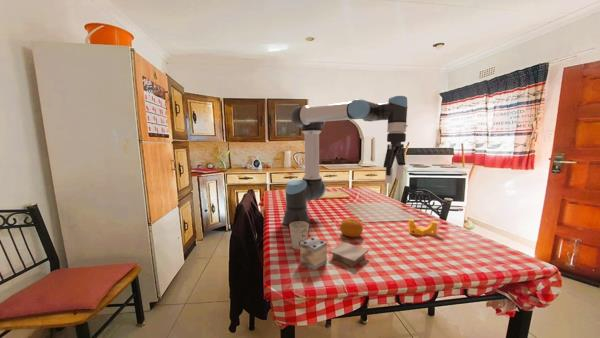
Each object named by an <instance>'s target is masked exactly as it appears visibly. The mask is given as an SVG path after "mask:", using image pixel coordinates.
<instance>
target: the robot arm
mask: <svg viewBox="0 0 600 338" xmlns="http://www.w3.org/2000/svg"><path fill="white" fill-rule="evenodd" d="M407 118H408V98H407V96H405V95H393V96H390V97H389V98H388V101H387V102H383V103H375V102H371V101H369V100H368V101H367V100H365V99H361V98H359V99H358V98H356V99H353V100H352V101H348V102H340V103H332V104H325V105H317V106H309V105H300V106H299V105H298V106H295V107H294V108H293V109H292V110H291V113H290V121H291V123H292V124H293V125H294V126H295V127H297V128H300V129H301V133H302V134H303V135H304V138H303V139H304V175H303V176H302V179H295V180H291V181H288V182H287V183H286V185H285V211H284V216H283V218H282V223H283V225H285V226H288V227H290V226H289V225H290V223H292V222H296V221H303V222H307V223H308V224H310V223H311V219H310V216H309V212H308V209H307V207H308V206H307V205H308V204H307V203H308V202H311V201H314V200H318V199H320V198H322V197H324V195H325V192H326V190H327V188H326V184H325V183H324V181H323V176H321V175H320V134H321V133H322V129H323V127H324V126H325V124H326V122H334V121H347V120H362V121H364V122H378V121H387V129H386V132H387V134H386V136H387V137H386V141H387V142H388V144H387V146H386V147H387V148H386V154H385V157H384V161H383V162H384V163H383V168H385V180H384V182H385V183H386V184H393V175H394V174H393V173H394V168H393V165H394V162H395V159H396V163H397V165H396V171H395V172H396V174H395V179H396V180H403V179H404V166H406V158H405V157H406V156H405V148H404V147H405V144H404V143H406V139H407V133H406V132H407V128H408V124H407ZM387 142H386V143H387Z"/></svg>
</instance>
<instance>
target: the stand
mask: <svg viewBox="0 0 600 338" xmlns="http://www.w3.org/2000/svg"><path fill="white" fill-rule="evenodd" d="M368 252H369V249H366V248H364V247H362V246H361V247H360V246H357V245H354V244H351V243H349V242H345V241H343V242H341V243H339V244H337V246H335V247H334V248H332V249H330V250H329V251H328V253H329V254H332V259H333V260H335V261H338V262H341V263H344V264H346V265H349V266H350V267H355V266H356V265H358V264H359V262H361V261H362V260H363V259H365V256H366V254H367V253H368Z"/></svg>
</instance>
